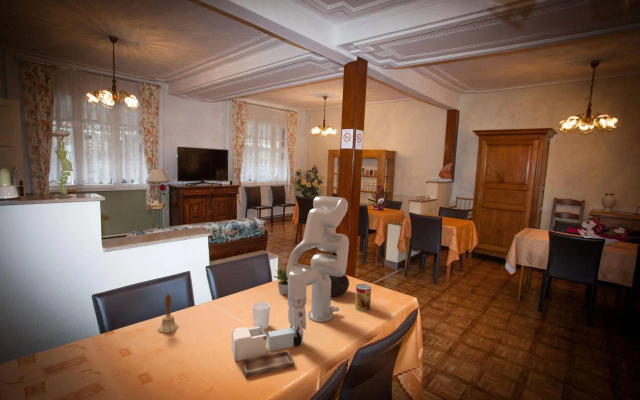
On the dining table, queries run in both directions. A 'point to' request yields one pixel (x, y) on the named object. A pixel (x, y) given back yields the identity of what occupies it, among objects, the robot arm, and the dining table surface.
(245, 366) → the tray
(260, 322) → the white cup
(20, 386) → the dining table surface
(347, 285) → the black round vase
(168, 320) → the hand bell
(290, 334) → the white rectangular block
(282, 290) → the house plant
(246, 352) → the dispenser
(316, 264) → the robot arm
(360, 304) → the canned food
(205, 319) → the dining table surface
